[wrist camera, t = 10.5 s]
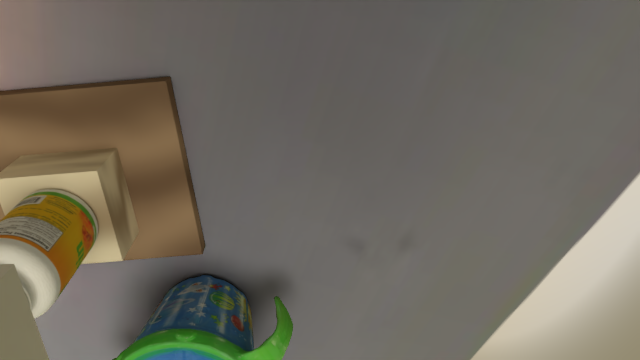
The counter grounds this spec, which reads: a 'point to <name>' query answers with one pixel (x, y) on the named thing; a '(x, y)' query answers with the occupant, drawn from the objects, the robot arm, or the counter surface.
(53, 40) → the counter surface
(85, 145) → the board
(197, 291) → the snack cup
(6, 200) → the birch block
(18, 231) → the supplement bottle
